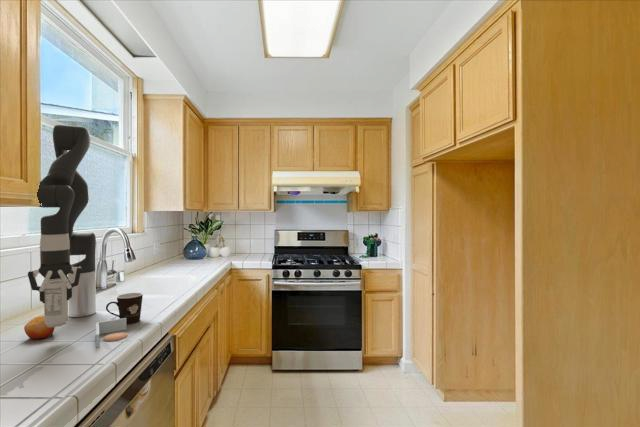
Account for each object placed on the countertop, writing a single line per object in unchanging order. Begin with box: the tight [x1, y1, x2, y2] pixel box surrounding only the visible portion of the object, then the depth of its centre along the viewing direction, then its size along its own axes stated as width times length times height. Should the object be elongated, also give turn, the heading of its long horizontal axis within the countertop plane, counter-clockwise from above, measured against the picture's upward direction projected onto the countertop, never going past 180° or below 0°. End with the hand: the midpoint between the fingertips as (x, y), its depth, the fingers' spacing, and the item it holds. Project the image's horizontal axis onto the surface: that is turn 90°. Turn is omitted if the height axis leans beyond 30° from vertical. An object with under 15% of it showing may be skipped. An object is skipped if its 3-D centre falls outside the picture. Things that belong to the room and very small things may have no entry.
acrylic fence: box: [95, 318, 127, 349], centre depth 117 cm, size 14×9×4 cm, turn 32°
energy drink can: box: [43, 278, 69, 328], centre depth 113 cm, size 6×6×15 cm
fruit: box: [23, 315, 56, 340], centre depth 118 cm, size 8×8×8 cm
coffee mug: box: [105, 292, 144, 326], centre depth 133 cm, size 12×9×10 cm
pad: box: [102, 331, 129, 342], centre depth 117 cm, size 7×7×1 cm
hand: (56, 300), depth 113 cm, fingers closed on energy drink can, 5 cm apart
